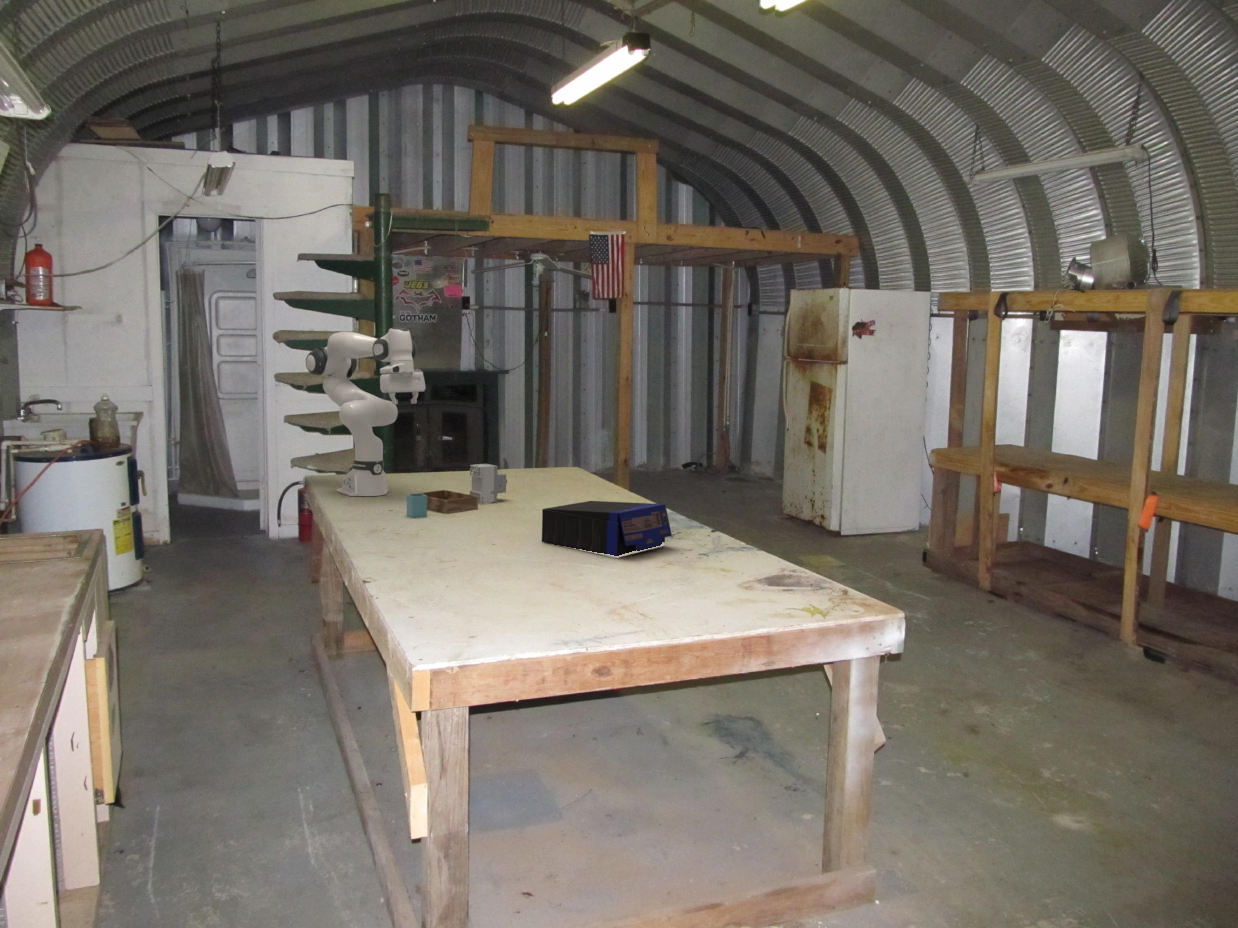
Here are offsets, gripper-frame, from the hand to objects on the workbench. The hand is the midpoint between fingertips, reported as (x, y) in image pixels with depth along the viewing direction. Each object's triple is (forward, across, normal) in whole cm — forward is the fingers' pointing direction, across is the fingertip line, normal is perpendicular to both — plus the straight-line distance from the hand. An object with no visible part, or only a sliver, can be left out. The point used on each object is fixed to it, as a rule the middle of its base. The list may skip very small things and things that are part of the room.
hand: (404, 404), depth 368 cm
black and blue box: (+50, +7, +102) cm, 114 cm away
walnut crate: (+41, -2, +17) cm, 44 cm away
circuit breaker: (+41, -25, +18) cm, 52 cm away
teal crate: (+42, +18, +23) cm, 51 cm away
